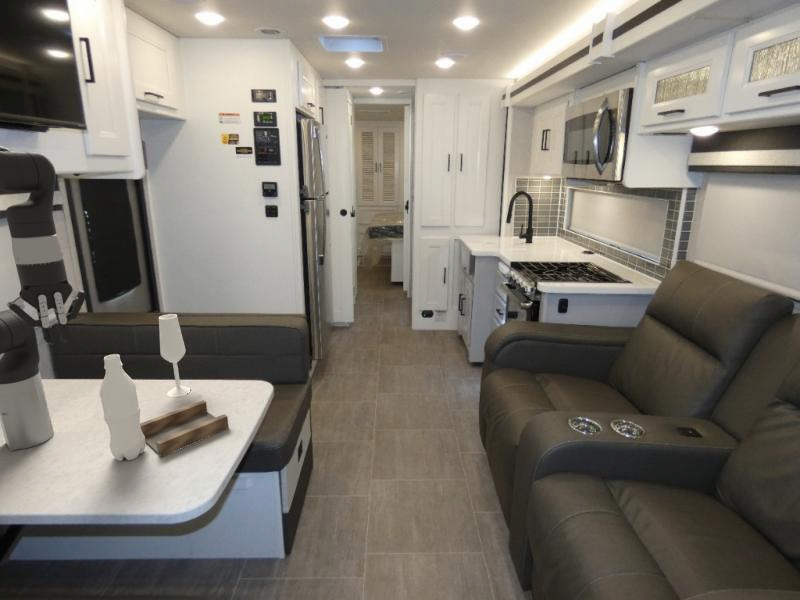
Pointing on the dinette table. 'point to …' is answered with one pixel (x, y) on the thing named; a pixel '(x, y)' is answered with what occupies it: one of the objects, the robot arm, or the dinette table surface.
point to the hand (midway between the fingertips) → (57, 342)
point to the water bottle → (121, 411)
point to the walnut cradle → (182, 428)
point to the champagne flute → (172, 349)
